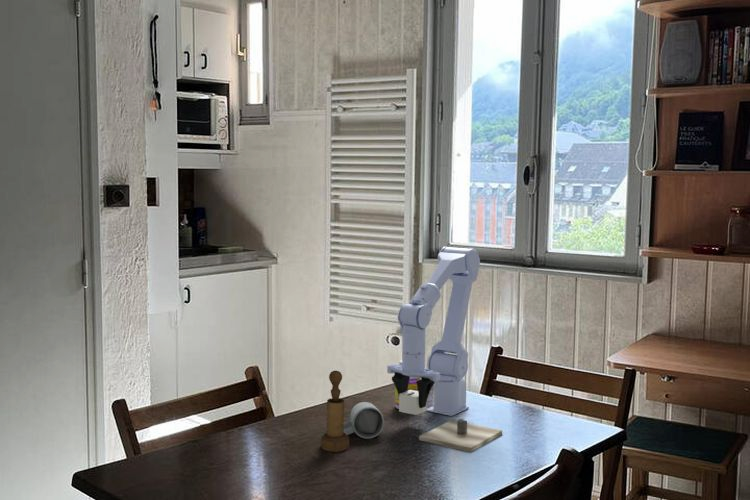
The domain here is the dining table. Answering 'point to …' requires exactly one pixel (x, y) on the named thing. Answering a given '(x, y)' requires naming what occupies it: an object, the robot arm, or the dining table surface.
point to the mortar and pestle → (335, 419)
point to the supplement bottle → (411, 386)
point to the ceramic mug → (364, 421)
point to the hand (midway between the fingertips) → (412, 405)
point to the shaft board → (461, 435)
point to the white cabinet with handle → (410, 402)
